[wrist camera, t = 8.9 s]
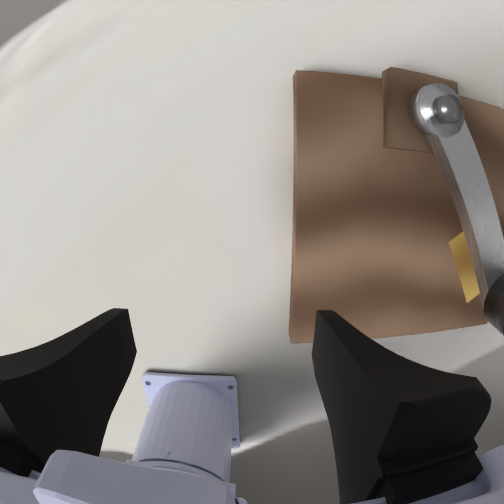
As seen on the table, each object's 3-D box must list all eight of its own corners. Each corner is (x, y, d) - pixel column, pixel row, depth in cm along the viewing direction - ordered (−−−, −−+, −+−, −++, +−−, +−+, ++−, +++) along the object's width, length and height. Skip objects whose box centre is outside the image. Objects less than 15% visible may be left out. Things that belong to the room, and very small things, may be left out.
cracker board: (478, 316, 24) (496, 331, 21) (288, 332, 24) (293, 355, 21) (503, 108, 18) (526, 107, 15) (293, 68, 18) (299, 56, 15)
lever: (395, 100, 15) (449, 85, 10) (440, 77, 15) (499, 60, 9) (477, 324, 20) (519, 363, 14) (511, 296, 19) (555, 328, 14)
